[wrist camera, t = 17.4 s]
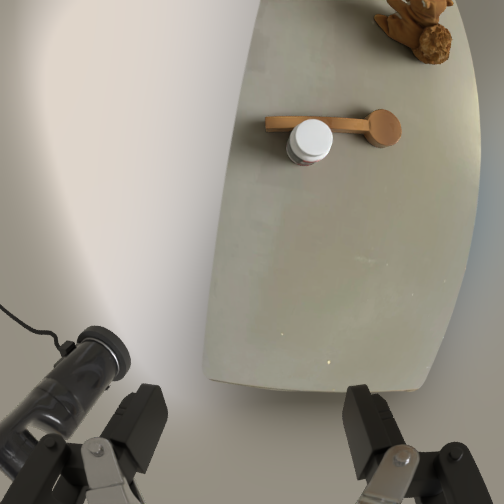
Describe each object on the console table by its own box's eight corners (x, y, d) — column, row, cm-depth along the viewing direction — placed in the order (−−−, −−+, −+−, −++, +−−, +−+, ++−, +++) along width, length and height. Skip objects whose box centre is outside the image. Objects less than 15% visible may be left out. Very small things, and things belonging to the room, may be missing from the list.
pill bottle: (298, 172, 35) (307, 168, 27) (279, 143, 34) (282, 130, 26) (328, 154, 34) (344, 145, 26) (308, 125, 33) (319, 108, 25)
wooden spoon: (266, 145, 34) (266, 142, 32) (264, 108, 33) (264, 103, 31) (395, 149, 33) (403, 147, 31) (392, 115, 32) (399, 111, 29)
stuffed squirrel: (408, 8, 26) (439, -27, 13) (448, 72, 29) (493, 48, 16) (366, 10, 27) (392, -34, 14) (409, 78, 30) (454, 47, 17)
